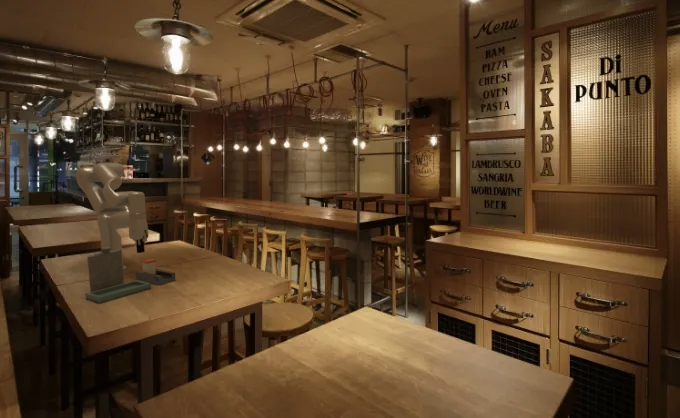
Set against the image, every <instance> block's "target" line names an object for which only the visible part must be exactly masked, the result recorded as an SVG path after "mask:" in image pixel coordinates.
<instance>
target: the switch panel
mask: <svg viewBox="0 0 680 418" xmlns="http://www.w3.org/2000/svg"><path fill="white" fill-rule="evenodd" d="M135 274H136V280H139V281H143V282H147V283H151V285H156V286H162V285H165V284H167V283H172V282H176V272H174V271H169V270H164V269H161V268H156V274H151V273H146V272H143V270H139V271H136V272H135Z"/></svg>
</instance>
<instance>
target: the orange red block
mask: <svg viewBox="0 0 680 418" xmlns="http://www.w3.org/2000/svg"><path fill="white" fill-rule="evenodd" d="M156 262H157V259H154V258H148V259H143V260H141V265H142V272H146V273H151V274H156V269H157V268H156Z"/></svg>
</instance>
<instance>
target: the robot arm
mask: <svg viewBox="0 0 680 418" xmlns="http://www.w3.org/2000/svg"><path fill="white" fill-rule="evenodd" d="M124 174H125V169H124V167H123V165H122V164H121V163H118V162H98V163H96V164H94V166H83V167H80V168H78V169H77V170H76V172H75V179H76V183H77V185H78V186H79V188H80V189H81V190H82V192H83V193H84V194H85V195H86V198H87V199H88V201H89V203H90V205H91V207H92V209H93V211H94V212H95V213H96V214H99V215H98V216H97V220H96V221H97V222H96V223H97V226H98V229H99V235H100V244H101V248H104V247H110V251H113V250H117V249H121V251H122V252H123V249H122V248H123V245H122V236H121V235H120V233H119V232H118V231H117V230H119V229H126V228H128V235H129V236H128V237H129V239H131V240H132V241H133V242H134V243H135V245H136V248H135V249H136V253H137V254H141V253H145V251H146V249H145V244H146V242H148V239H149V235H150V233H149V226H148V221H147V212H146V211H147V209H146V208H147V207H146V197H145V193H144V192H142V191H135V190H134V191H133V190H131V191H130V190H129V191H115V190H117V189H119V188H120V187H121V185H122V183H123V181H122V180H123V179H122V177H123V176H124ZM96 182H97V183H99V182H101V183H102V185H103V188H102V187H101V186H100V185H98V184H97V183H96ZM123 260H124V257H123V256H122V264H123V271H125V270H126V269H127V265H124V261H123Z"/></svg>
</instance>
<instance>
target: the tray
mask: <svg viewBox="0 0 680 418" xmlns="http://www.w3.org/2000/svg"><path fill="white" fill-rule="evenodd" d="M151 289H152V283H148V282H144V281H140V280H137V279H136V280H132V281H128V282H124V283H123V284H119V285H116V286H112V287H108V288H104V289H101V290H97V291H93V292H90V291H89V292H86V293H84V294H85V299H86V300H87V301H90V302H94V303H97V304H104V303H106V302H110V301H114V300H116V299H120V298H125V297H127V296H130V295H135V294H137V293H142V292H145V291H147V290H151Z"/></svg>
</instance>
